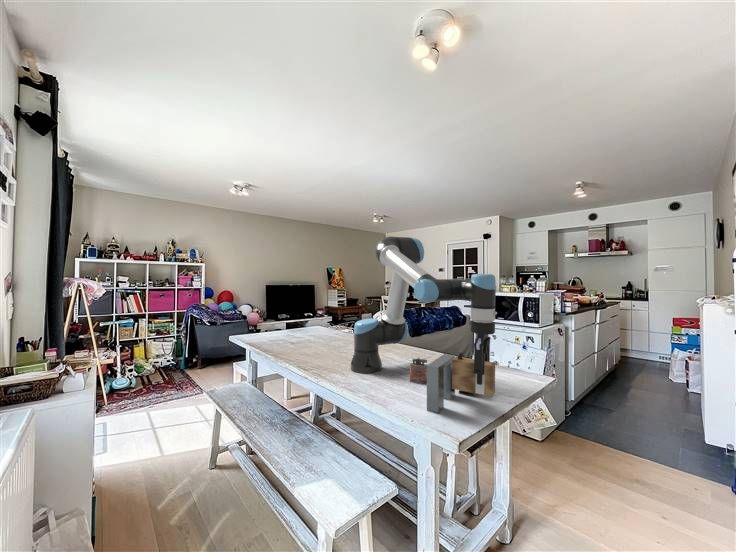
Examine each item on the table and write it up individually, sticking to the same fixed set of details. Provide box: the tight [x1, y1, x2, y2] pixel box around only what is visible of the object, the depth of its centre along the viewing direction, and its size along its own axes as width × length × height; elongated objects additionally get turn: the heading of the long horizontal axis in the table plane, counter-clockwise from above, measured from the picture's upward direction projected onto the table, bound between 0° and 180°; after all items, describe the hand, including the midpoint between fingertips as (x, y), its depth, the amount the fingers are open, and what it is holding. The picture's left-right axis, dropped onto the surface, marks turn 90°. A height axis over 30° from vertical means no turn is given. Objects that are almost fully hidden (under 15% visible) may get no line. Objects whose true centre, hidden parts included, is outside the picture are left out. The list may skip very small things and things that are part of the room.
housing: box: [426, 353, 456, 414], centre depth 110 cm, size 4×18×15 cm, turn 148°
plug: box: [452, 352, 496, 398], centre depth 104 cm, size 13×4×12 cm, turn 58°
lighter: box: [409, 357, 428, 385], centre depth 131 cm, size 8×3×10 cm, turn 68°
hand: (481, 390), depth 103 cm, fingers closed on plug, 4 cm apart
